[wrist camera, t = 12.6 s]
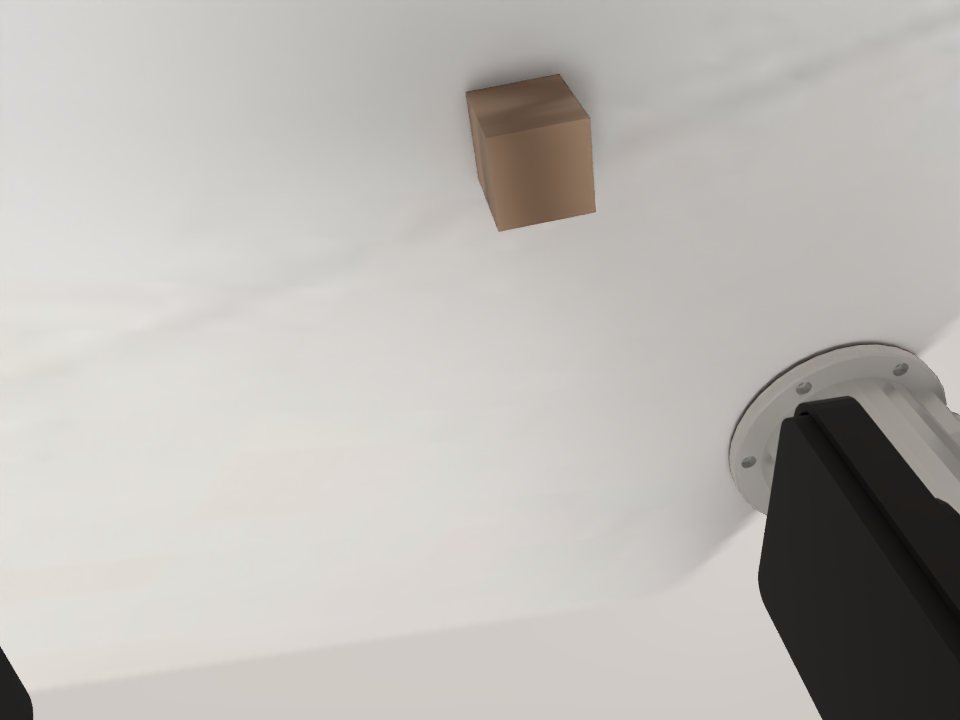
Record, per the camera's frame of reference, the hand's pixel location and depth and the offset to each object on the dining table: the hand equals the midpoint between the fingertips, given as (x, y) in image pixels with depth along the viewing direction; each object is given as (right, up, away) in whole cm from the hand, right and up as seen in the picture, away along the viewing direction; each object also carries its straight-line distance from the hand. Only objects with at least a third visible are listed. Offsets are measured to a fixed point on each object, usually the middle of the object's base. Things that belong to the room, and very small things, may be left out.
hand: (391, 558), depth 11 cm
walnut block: (+3, +12, +29) cm, 32 cm away
